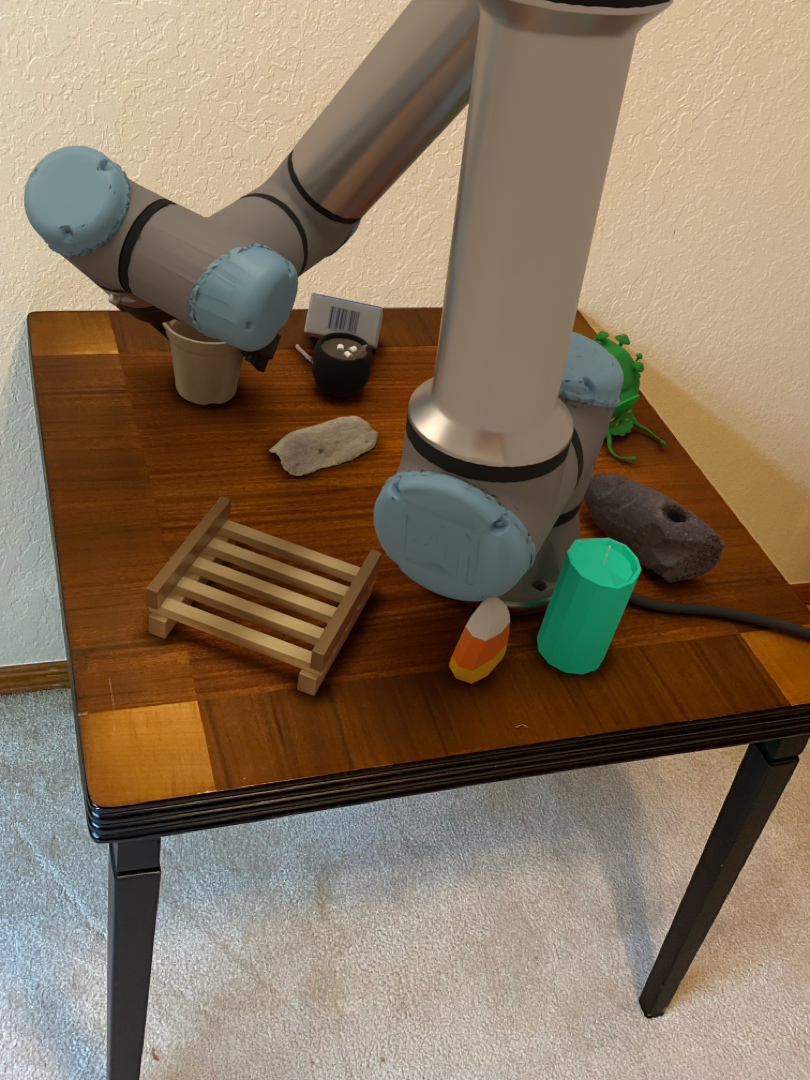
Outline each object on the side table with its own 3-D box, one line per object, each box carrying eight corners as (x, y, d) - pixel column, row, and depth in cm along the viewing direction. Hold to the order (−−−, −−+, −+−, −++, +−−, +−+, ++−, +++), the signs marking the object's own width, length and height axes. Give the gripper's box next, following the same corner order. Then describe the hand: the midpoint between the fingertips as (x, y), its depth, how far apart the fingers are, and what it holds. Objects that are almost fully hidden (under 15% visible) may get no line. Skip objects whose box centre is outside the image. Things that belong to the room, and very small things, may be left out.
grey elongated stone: (291, 480, 103) (282, 438, 102) (264, 478, 107) (256, 437, 106) (386, 450, 110) (379, 410, 109) (358, 448, 114) (351, 410, 113)
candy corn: (483, 639, 92) (503, 572, 86) (509, 659, 90) (532, 593, 85) (438, 674, 88) (457, 606, 83) (466, 695, 87) (486, 628, 81)
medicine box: (310, 291, 115) (316, 297, 123) (303, 333, 115) (309, 336, 124) (383, 306, 115) (384, 311, 123) (375, 348, 116) (376, 350, 124)
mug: (379, 398, 116) (389, 339, 111) (331, 412, 113) (340, 352, 108) (318, 342, 122) (325, 284, 118) (271, 354, 119) (276, 294, 114)
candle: (608, 635, 95) (650, 534, 87) (599, 683, 90) (643, 581, 82) (542, 614, 95) (578, 512, 87) (530, 661, 91) (567, 558, 83)
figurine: (612, 474, 112) (635, 390, 106) (510, 409, 120) (525, 327, 114) (684, 436, 119) (709, 356, 113) (583, 377, 127) (601, 298, 121)
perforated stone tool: (561, 514, 106) (580, 458, 102) (596, 497, 109) (616, 443, 105) (676, 607, 99) (702, 552, 94) (710, 586, 102) (737, 532, 97)
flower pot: (245, 422, 109) (250, 349, 104) (151, 409, 108) (152, 335, 103) (256, 372, 116) (262, 301, 111) (169, 359, 115) (170, 287, 110)
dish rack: (374, 594, 94) (382, 552, 90) (317, 697, 84) (324, 655, 81) (218, 537, 96) (221, 494, 93) (145, 632, 86) (145, 588, 83)
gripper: (12, 270, 91) (114, 346, 114) (248, 348, 88) (305, 411, 110) (44, 190, 92) (139, 280, 114) (280, 264, 89) (330, 343, 111)
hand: (221, 344), depth 112 cm, fingers closed on flower pot, 9 cm apart
